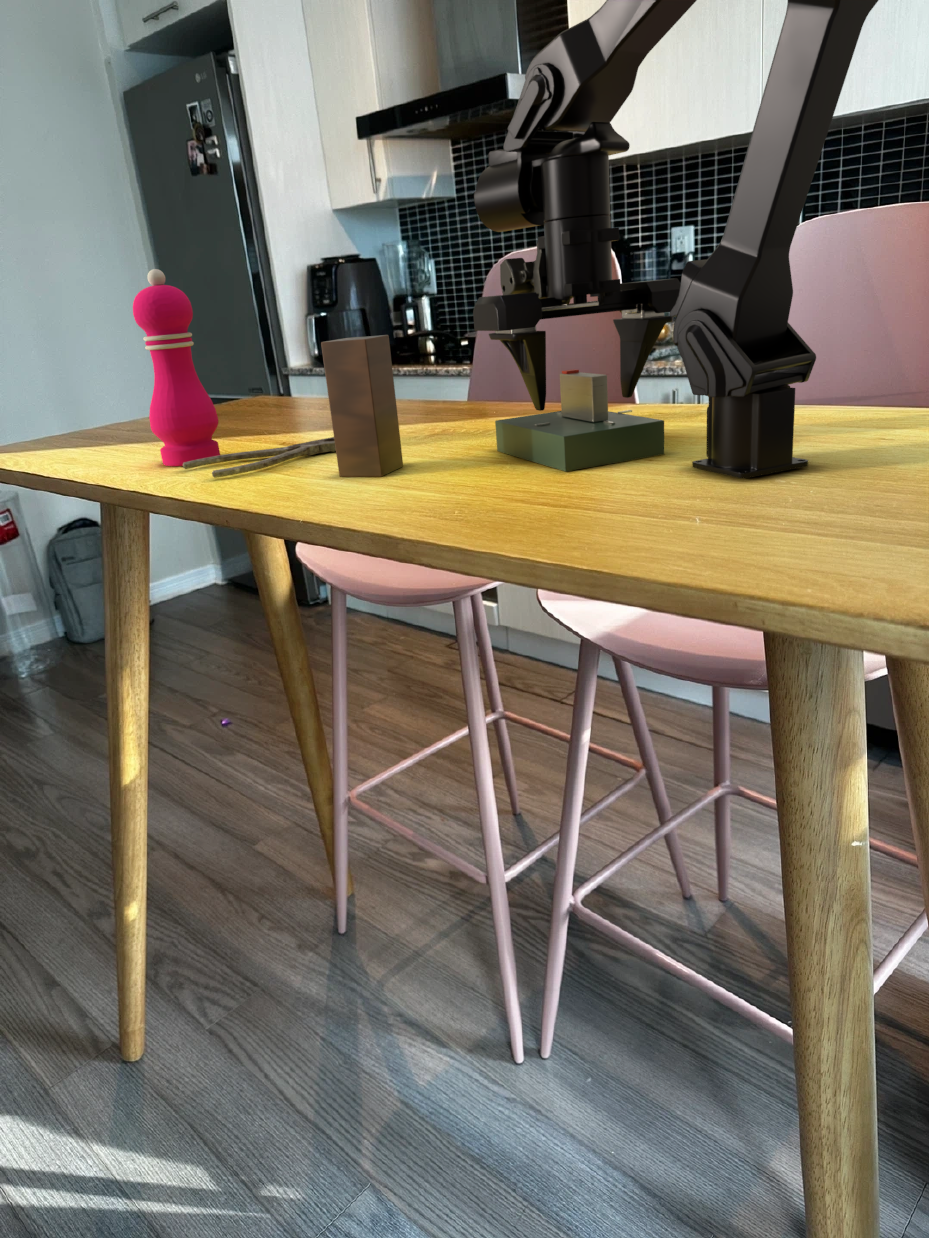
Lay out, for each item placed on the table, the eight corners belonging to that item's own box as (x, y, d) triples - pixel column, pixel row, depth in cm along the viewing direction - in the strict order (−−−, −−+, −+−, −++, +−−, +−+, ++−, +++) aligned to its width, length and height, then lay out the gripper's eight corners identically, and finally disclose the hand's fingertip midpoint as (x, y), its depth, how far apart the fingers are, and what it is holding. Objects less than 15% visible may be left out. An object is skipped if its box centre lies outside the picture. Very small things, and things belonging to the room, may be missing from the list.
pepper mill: (189, 468, 94) (149, 267, 87) (144, 466, 98) (103, 273, 91) (238, 455, 99) (205, 265, 93) (194, 454, 103) (159, 271, 96)
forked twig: (167, 465, 91) (317, 431, 105) (168, 473, 91) (319, 438, 105) (219, 471, 85) (372, 434, 98) (220, 479, 85) (373, 442, 99)
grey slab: (608, 420, 80) (607, 372, 78) (593, 422, 79) (591, 374, 78) (576, 414, 85) (574, 369, 84) (561, 416, 85) (559, 371, 83)
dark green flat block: (675, 452, 79) (674, 416, 78) (565, 471, 75) (563, 434, 74) (594, 435, 91) (593, 404, 90) (497, 451, 87) (494, 419, 86)
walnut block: (403, 466, 84) (388, 334, 80) (382, 476, 80) (365, 339, 76) (362, 466, 86) (345, 338, 82) (339, 477, 82) (320, 342, 78)
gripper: (619, 222, 86) (623, 386, 92) (442, 235, 80) (458, 410, 86) (688, 209, 77) (688, 393, 82) (493, 222, 70) (507, 420, 76)
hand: (584, 403), depth 82 cm, fingers open, 9 cm apart
